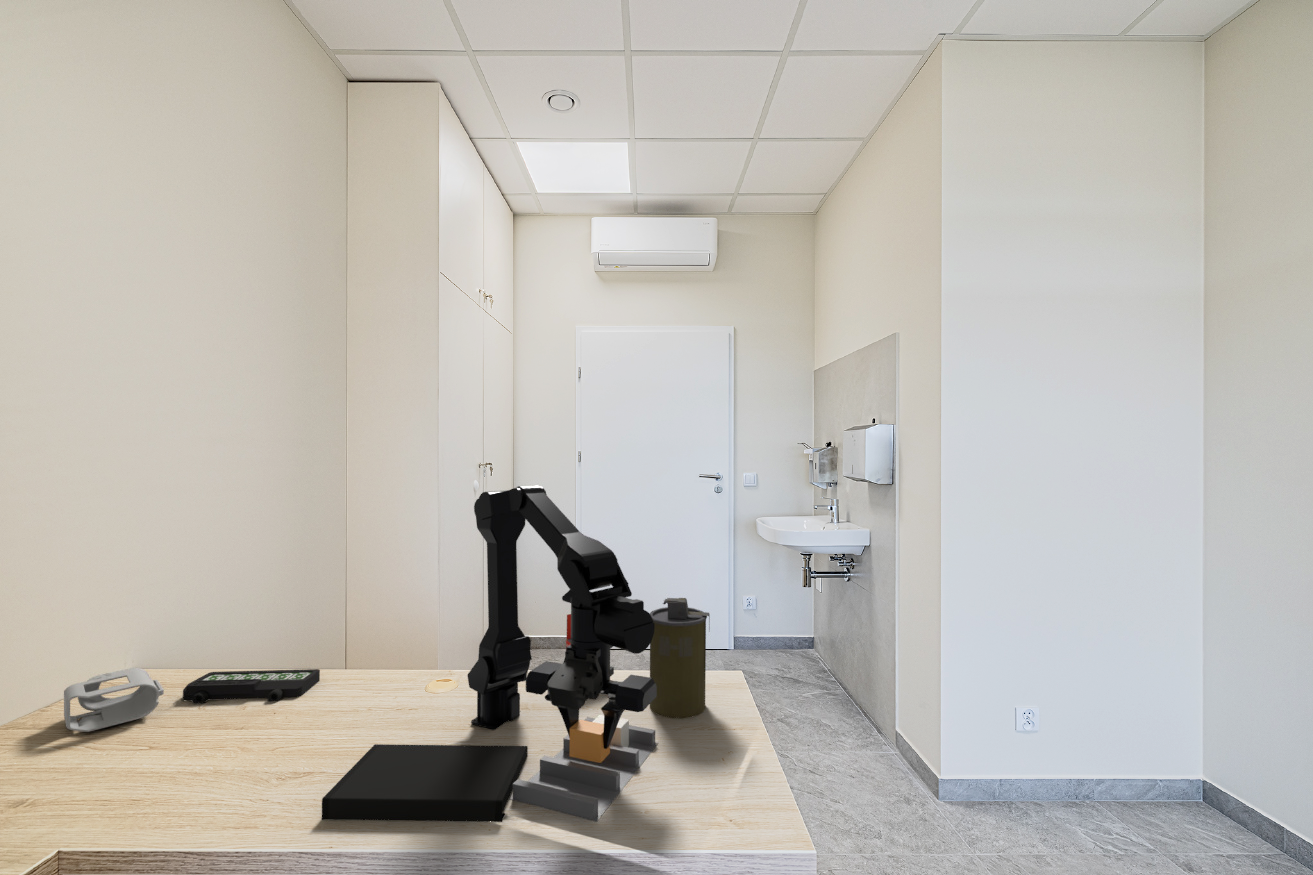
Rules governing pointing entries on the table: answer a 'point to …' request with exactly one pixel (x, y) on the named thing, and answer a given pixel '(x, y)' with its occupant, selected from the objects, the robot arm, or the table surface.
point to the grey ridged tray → (585, 777)
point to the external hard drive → (427, 784)
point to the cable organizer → (112, 700)
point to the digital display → (251, 685)
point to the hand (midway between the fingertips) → (589, 744)
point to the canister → (678, 659)
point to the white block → (618, 731)
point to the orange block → (588, 741)
